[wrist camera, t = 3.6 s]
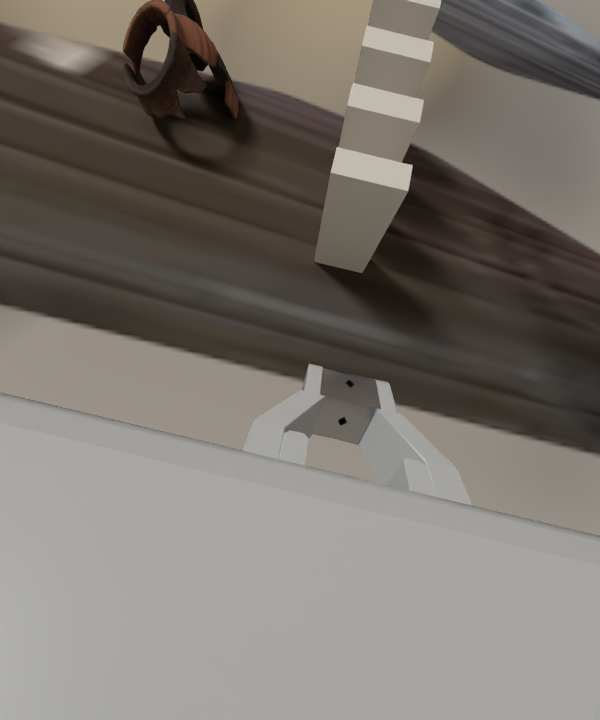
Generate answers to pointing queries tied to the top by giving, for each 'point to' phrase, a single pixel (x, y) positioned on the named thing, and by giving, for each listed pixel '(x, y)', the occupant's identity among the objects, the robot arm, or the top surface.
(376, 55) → the domino
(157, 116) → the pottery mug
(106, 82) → the top surface
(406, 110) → the domino
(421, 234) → the top surface
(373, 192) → the domino
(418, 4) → the domino
